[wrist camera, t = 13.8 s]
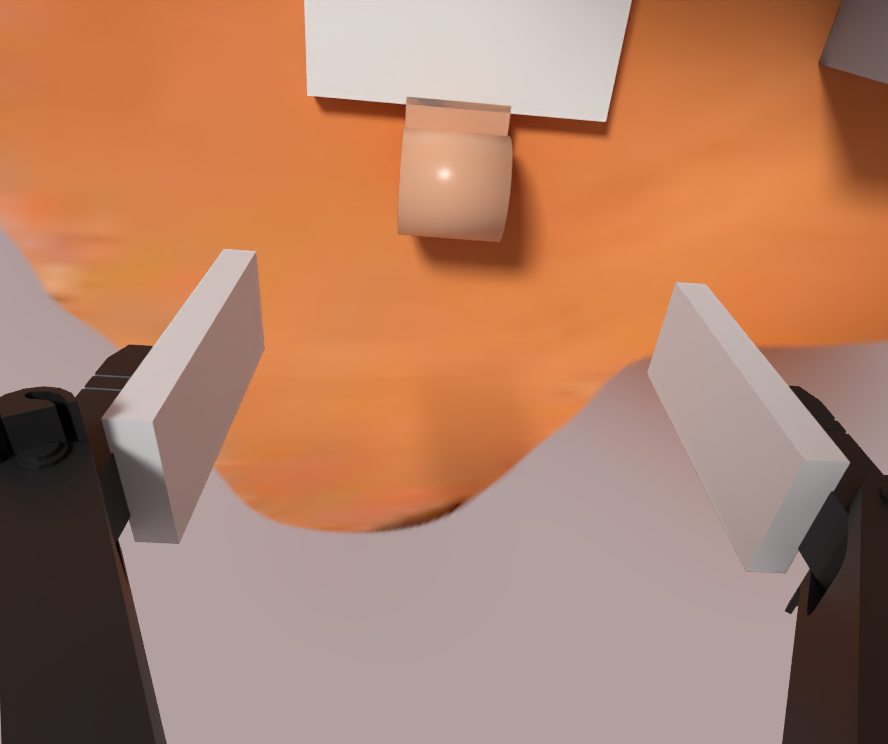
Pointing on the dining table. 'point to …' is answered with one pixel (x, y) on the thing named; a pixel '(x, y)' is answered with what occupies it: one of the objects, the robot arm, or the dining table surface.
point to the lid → (464, 88)
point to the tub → (859, 40)
